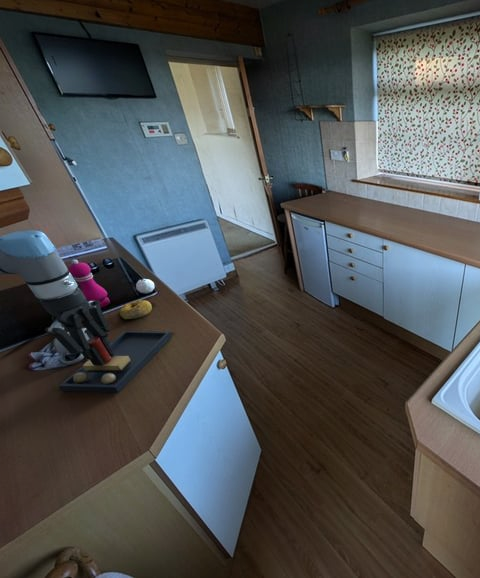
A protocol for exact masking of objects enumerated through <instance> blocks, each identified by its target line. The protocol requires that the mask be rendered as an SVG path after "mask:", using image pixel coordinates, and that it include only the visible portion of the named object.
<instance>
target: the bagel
mask: <svg viewBox="0 0 480 578" xmlns="http://www.w3.org/2000/svg"><path fill="white" fill-rule="evenodd" d="M152 309H153V306H152V304H151V302H149V301H148V300H145V299H143V300H141V299H139V300H135V301H131V302H128V303H125V304H123V306H122V308H120V309H119V315H120V317H121V318H122V319H124V320H132V319H133V320H134V319H140V318H143V317H145V316H147V315H148V314H150V313H151V312H152Z"/></svg>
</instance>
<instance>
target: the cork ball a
mask: <svg viewBox="0 0 480 578" xmlns="http://www.w3.org/2000/svg"><path fill="white" fill-rule="evenodd" d="M87 379H88V374H87V373H85V372H79V373H77V374H75V375H74V377H73V381H74V382H76V383H82V382H84V381H86V380H87Z"/></svg>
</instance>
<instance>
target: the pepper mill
mask: <svg viewBox="0 0 480 578" xmlns="http://www.w3.org/2000/svg"><path fill="white" fill-rule="evenodd" d="M70 263H71V264H70V265H69V266H68V267H67V269H68V270H69V272H70V273H71V275H72V277H73V278H74V280H75V282H78V283H79V285H80V289H81V291H82V293H83V294H84V296H85V297H86V301H99V302H100V309H101V308H104V307H106V306H109V304H110V303H111V300H110V299H109V297H107V296H108V292H107V290H105V288H104V287H102V285H101V286H100V285H99V284H98V283H97V282H96V281H95V280H94V278H93V277H94V275H93V273H92V272H91V271H92V269H91V268H92V267H90V265H89V264H88V263H86V262H79V260H77V259H72V260H71V262H70Z"/></svg>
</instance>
